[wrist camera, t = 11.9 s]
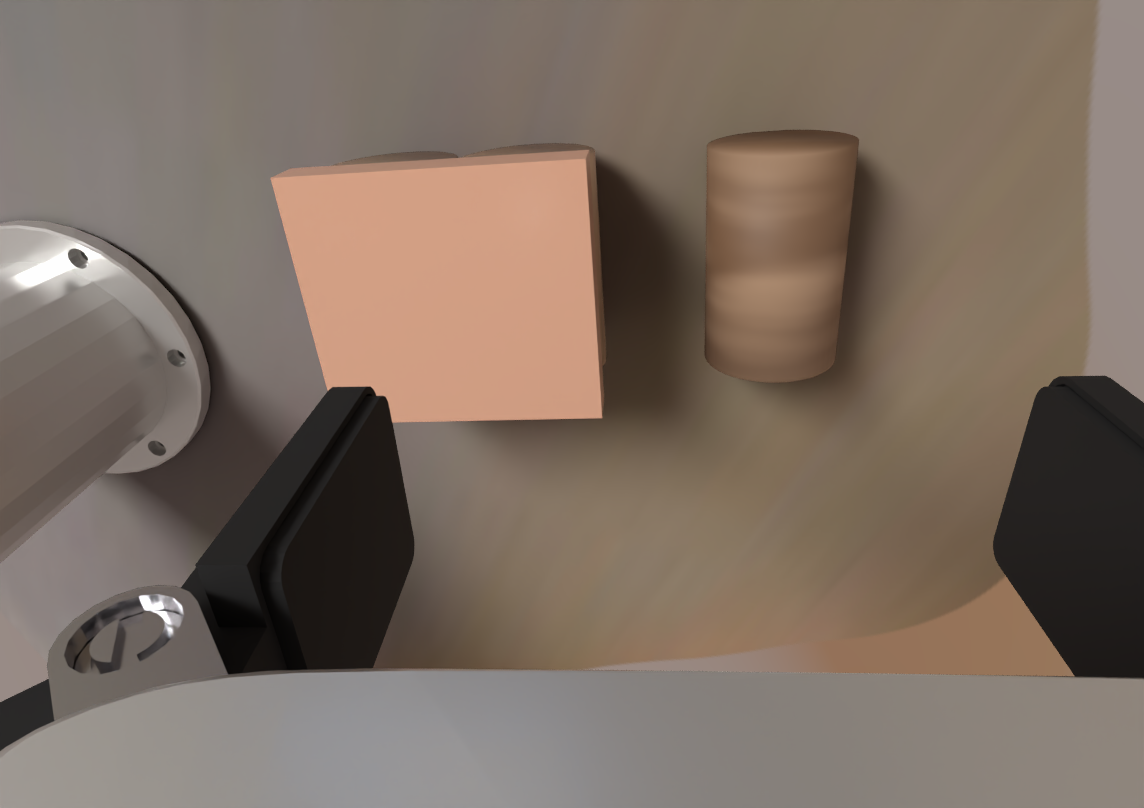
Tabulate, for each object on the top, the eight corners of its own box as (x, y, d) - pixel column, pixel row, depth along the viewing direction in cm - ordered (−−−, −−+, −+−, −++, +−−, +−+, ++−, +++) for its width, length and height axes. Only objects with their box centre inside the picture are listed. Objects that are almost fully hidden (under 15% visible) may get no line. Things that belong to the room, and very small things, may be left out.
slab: (389, 350, 33) (336, 423, 27) (345, 142, 28) (270, 177, 23) (610, 343, 32) (602, 418, 26) (598, 126, 27) (585, 158, 22)
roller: (704, 134, 27) (710, 160, 23) (842, 126, 27) (875, 150, 22) (702, 330, 31) (707, 383, 27) (822, 327, 30) (847, 381, 26)
